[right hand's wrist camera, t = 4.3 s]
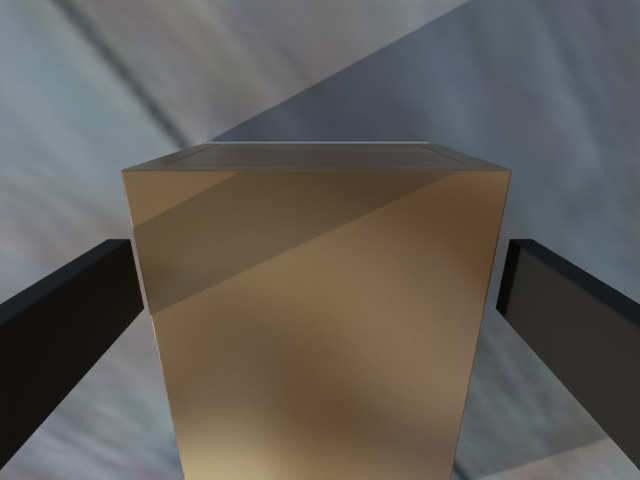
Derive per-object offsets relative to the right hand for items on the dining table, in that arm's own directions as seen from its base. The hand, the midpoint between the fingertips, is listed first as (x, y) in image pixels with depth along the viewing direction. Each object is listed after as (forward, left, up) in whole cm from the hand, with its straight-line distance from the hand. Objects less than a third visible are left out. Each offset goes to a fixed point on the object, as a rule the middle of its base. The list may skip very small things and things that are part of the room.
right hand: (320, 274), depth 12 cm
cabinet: (+5, +3, -7) cm, 9 cm away
